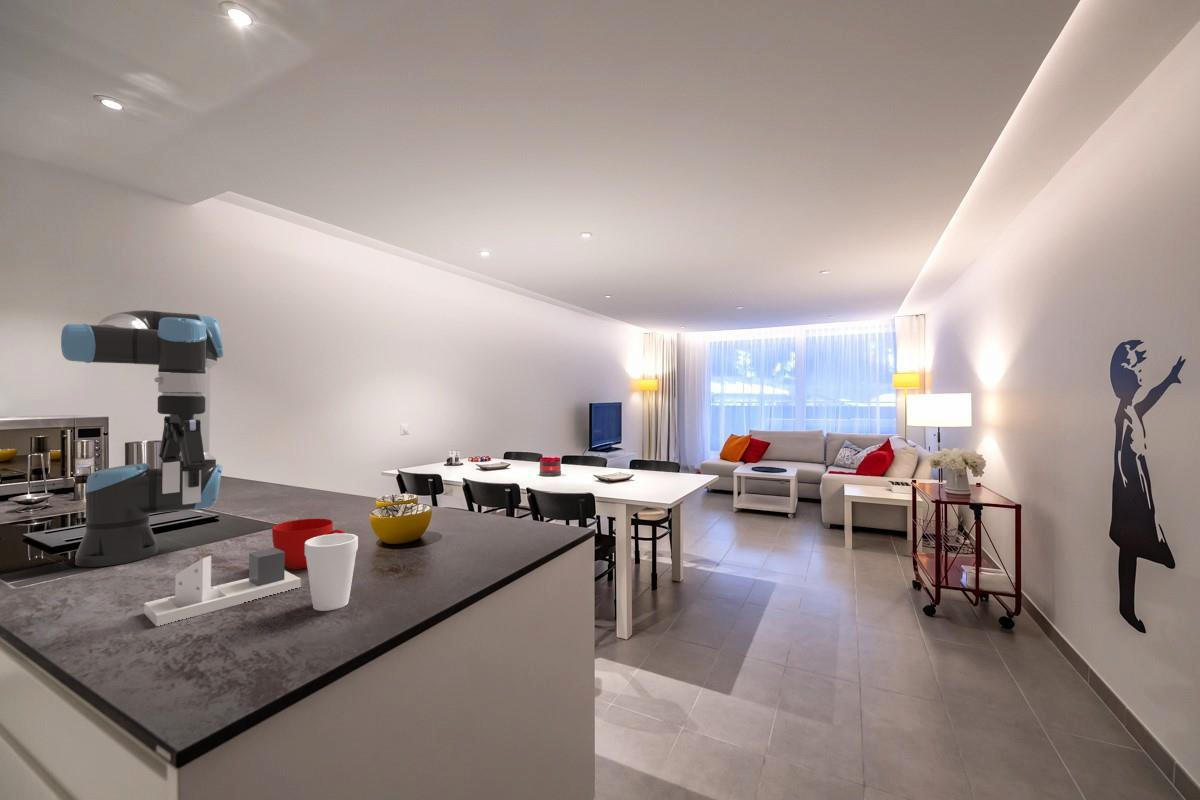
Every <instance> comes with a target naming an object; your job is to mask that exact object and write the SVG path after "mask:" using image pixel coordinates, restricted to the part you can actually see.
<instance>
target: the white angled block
mask: <svg viewBox="0 0 1200 800" xmlns="http://www.w3.org/2000/svg"><path fill="white" fill-rule="evenodd" d="M211 580H212V555H208V556H206V557H203V558H201V559H199V560H198V561H196V562H194V563H193V564H190V565H189V566H187V567H186V568H184V569H181V570H180V571H179V572H177V573H175V582H174V584H175V585H174V586H175V590H174V593H175V594H174V596H175V606H176V607H177V608H181V607H185V606H189V605H193V604H197V603H201V602H205V601H209V600H213V599H217V598H219V587H213V586H212V581H211Z"/></svg>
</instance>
